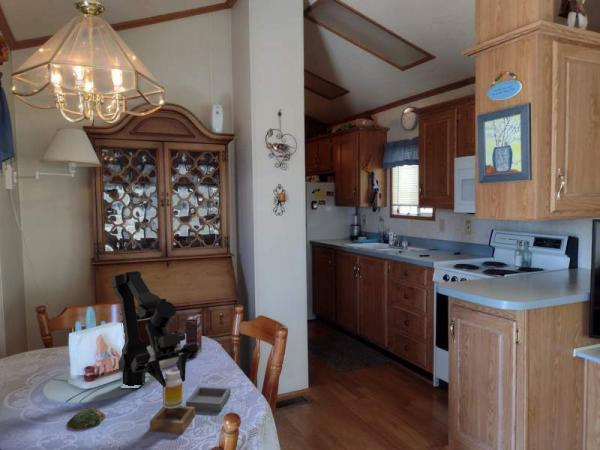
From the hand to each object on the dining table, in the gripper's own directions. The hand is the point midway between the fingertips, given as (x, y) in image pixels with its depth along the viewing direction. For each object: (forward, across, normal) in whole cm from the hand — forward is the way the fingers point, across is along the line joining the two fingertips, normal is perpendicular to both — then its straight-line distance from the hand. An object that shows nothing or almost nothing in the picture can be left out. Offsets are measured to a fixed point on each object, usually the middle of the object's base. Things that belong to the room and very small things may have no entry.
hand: (174, 383), depth 121 cm
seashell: (-4, -19, +22) cm, 29 cm away
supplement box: (-26, +30, +44) cm, 59 cm away
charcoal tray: (+4, +14, +13) cm, 20 cm away
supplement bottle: (+4, 0, +6) cm, 7 cm away
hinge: (-24, +16, +43) cm, 51 cm away
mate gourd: (-33, +10, +52) cm, 62 cm away
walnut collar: (+8, 0, +9) cm, 12 cm away
